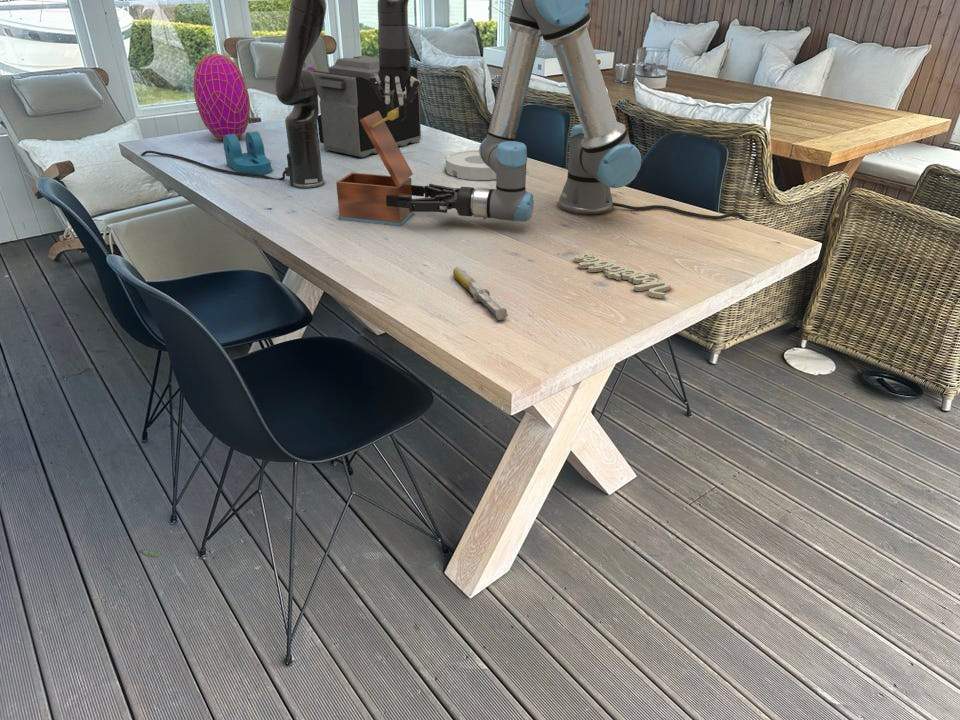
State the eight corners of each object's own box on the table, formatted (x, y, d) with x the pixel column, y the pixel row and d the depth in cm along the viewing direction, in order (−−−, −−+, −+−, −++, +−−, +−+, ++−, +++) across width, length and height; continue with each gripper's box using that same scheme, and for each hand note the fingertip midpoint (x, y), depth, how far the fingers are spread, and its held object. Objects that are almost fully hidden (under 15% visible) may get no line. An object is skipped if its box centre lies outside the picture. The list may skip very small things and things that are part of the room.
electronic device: (383, 133, 276) (378, 52, 261) (425, 141, 265) (422, 56, 250) (314, 150, 251) (304, 61, 235) (358, 160, 240) (350, 67, 224)
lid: (359, 120, 172) (387, 104, 168) (374, 112, 180) (401, 97, 176) (396, 186, 178) (423, 172, 174) (409, 176, 186) (435, 162, 182)
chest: (339, 219, 187) (336, 182, 182) (354, 208, 195) (351, 172, 190) (400, 225, 183) (398, 187, 178) (412, 214, 191) (411, 177, 186)
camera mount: (227, 164, 233) (221, 132, 227) (257, 160, 238) (252, 129, 233) (244, 176, 220) (239, 143, 215) (276, 172, 225) (271, 139, 220)
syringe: (449, 274, 155) (449, 263, 153) (465, 272, 156) (464, 260, 154) (490, 323, 135) (491, 310, 133) (508, 319, 136) (508, 307, 134)
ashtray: (448, 160, 240) (448, 149, 238) (514, 162, 240) (514, 150, 238) (443, 179, 220) (443, 166, 218) (515, 180, 220) (515, 168, 218)
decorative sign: (686, 282, 150) (660, 295, 144) (686, 286, 150) (659, 300, 144) (592, 249, 166) (565, 259, 160) (592, 253, 167) (565, 263, 161)
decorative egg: (219, 147, 253) (203, 59, 238) (193, 139, 264) (176, 54, 249) (265, 139, 265) (252, 54, 250) (238, 131, 276) (225, 50, 261)
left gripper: (426, 45, 167) (427, 119, 176) (373, 42, 170) (376, 114, 179) (415, 48, 161) (417, 125, 169) (361, 45, 163) (365, 120, 172)
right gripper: (462, 230, 172) (379, 221, 177) (484, 203, 191) (409, 196, 196) (462, 200, 168) (377, 193, 173) (485, 176, 187) (407, 170, 192)
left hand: (396, 119), depth 174 cm, fingers closed on lid, 2 cm apart
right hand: (394, 194), depth 184 cm, fingers closed on chest, 10 cm apart
